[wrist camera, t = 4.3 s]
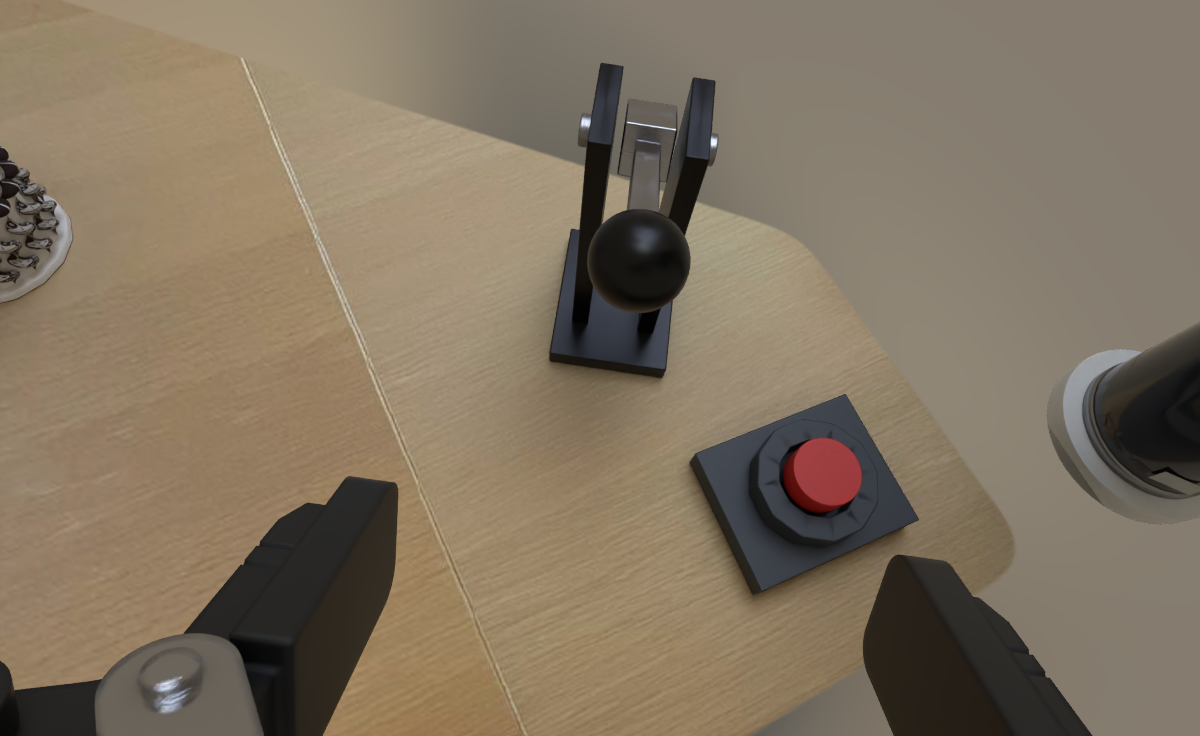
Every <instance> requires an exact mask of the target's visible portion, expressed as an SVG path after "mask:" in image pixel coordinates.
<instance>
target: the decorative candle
mask: <svg viewBox="0 0 1200 736" xmlns="http://www.w3.org/2000/svg"><path fill="white" fill-rule="evenodd" d="M8 157H9V156H8V152H7V151H6V150H5V149H4V148H3V147H1V146H0V303H2V302H6V301H10V300H14V299H17V298H19V297H21V296H23V295H24V294H26V293H28V292H29V291H31V290H33V289H35V288H36V287H38V286H40V285H41V284H43V283H45V282H46V281H47V280H48V278H49V277H50V276H51V275H52V274H53V273H54V272H55V271H56V270H57V269H58V268H59V266H60V265H61V264H62V263H63V262H64V260H65V258H66V255H67V252H68V250H69V247H70V245H71V242H72V239H73V237H72V230H71V222H70V217H69V216H68V215H67V214H66V212H65V211H64V210H63V209H62V208H61V206H60V205H59V204H58V203H57V201H56V200H54V199H53V198H51V197H49V196H46V195H44V194H45V193H46V188H45V187H44V186H41V185H38V184H34V183H33V184H30V185H28V183H29V182H30V179H29V178H28V177H29V176H30V173H29V171H28V170H27V169H25V168H21V169H18V167H17V165H16V164H15V163H14V162H12V161H11V160H10V159H8Z"/></svg>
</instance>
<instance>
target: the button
mask: <svg viewBox="0 0 1200 736" xmlns="http://www.w3.org/2000/svg"><path fill="white" fill-rule="evenodd" d="M783 481H784V485H785V488H786V490H787V492H788V494H789V496H790V497H791V498H792V500H793V501H794V502H795V503H796V504H798V505H799V506H800V507H802V508H804V509H806V510H808V511H811V512H815V513H827V512H831V511H833V510H835V509H837V508H839V507H841V506H842V505H844V504H846V503H848V502H849V501H851V500H852V499H853V498H854V497H855V496H856V495H857V493H858V492H859V490H860V487H861V483H862V471H861V467H860V464H859V462H858V460H857V458H856V456H855V455H854V454H853V452H852V451H851V450H850V449H849V448H848V447H846V446H845V445H844V444H842V443H840V442H838V441H836V440H833V439H829V438H816V439H812V440H810V441H808V442H806V443H804V444H803V445H802V446H801V447H800V448H799V449H797V450H796V451H795V452H794V453H793V454H792V455H791V456H790V457H789V458H788V460H787V461H786V463H785V466H784V470H783Z"/></svg>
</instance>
